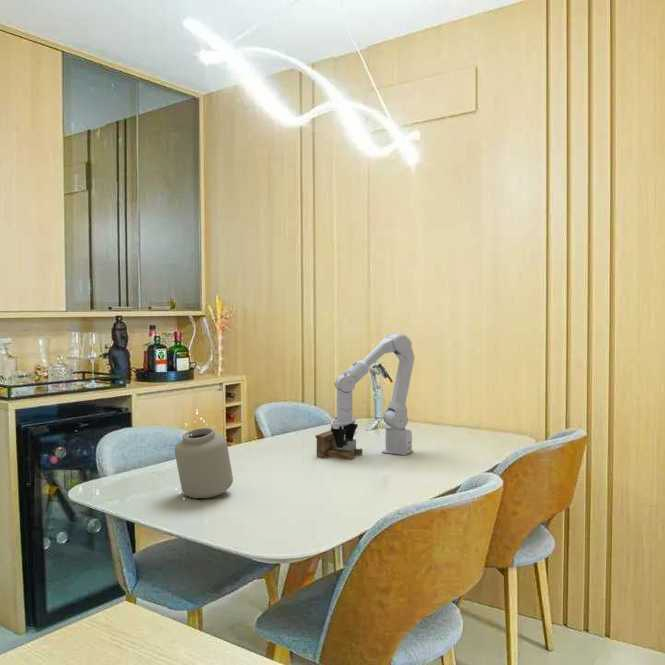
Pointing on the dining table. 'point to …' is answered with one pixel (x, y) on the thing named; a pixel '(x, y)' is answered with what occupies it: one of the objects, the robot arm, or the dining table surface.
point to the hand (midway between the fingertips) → (344, 445)
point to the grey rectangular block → (345, 446)
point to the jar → (203, 463)
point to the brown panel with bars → (326, 447)
